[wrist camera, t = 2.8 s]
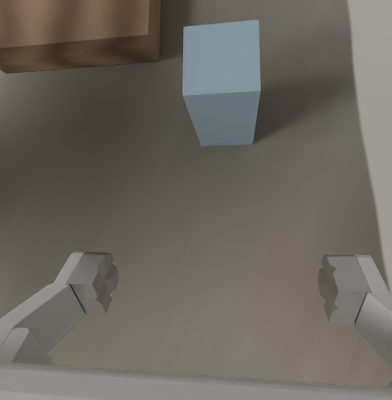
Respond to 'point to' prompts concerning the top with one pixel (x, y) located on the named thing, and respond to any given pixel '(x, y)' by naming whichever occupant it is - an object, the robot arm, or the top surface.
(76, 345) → the top surface
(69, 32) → the walnut base
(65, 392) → the robot arm
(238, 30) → the slate block
